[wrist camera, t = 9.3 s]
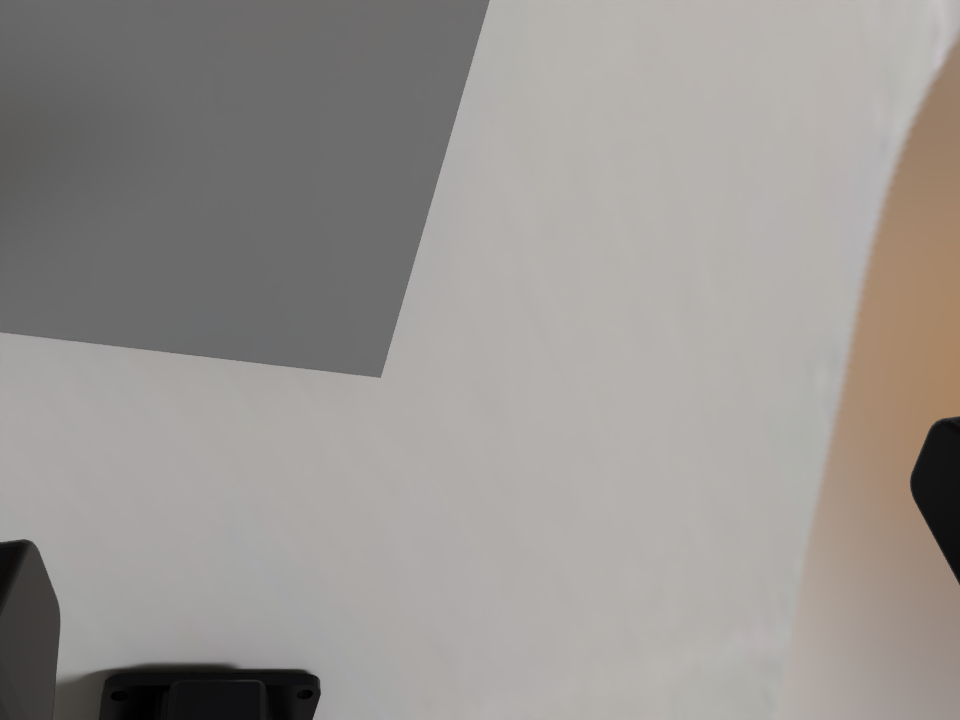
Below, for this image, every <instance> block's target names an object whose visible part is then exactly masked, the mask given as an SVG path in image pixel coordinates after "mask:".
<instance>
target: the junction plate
mask: <svg viewBox="0 0 960 720" xmlns="http://www.w3.org/2000/svg"><path fill="white" fill-rule="evenodd" d="M488 4H489V0H0V332H3V333H11V334H19V335H28V336H36V337H45V338H53V339H61V340H70V341H78V342H86V343H95V344H103V345H112V346H120V347H128V348H137V349H145V350H153V351H162V352H170V353H179V354H187V355H195V356H204V357H212V358H220V359H229V360H237V361H246V362H254V363H262V364H271V365H279V366H287V367H296V368H304V369H313V370H321V371H329V372H338V373H346V374H354V375H363V376H371V377H380V378H381V375H382V371H383V368H384V364H385V361H386V358H387V354H388V351H389V347H390V344H391V340H392V337H393V333H394V330H395V326H396V323H397V319H398V316H399V312H400V309H401V306H402V302H403V299H404V295H405V292H406V288H407V285H408V281H409V278H410V274H411V271H412V267H413V264H414V260H415V257H416V253H417V250H418V247H419V243H420V240H421V236H422V233H423V229H424V226H425V222H426V219H427V215H428V212H429V208H430V205H431V201H432V198H433V195H434V191H435V188H436V184H437V181H438V177H439V174H440V170H441V167H442V163H443V160H444V156H445V153H446V149H447V146H448V142H449V139H450V136H451V132H452V129H453V125H454V122H455V118H456V115H457V111H458V108H459V104H460V101H461V97H462V94H463V90H464V87H465V83H466V80H467V77H468V73H469V70H470V66H471V63H472V59H473V56H474V52H475V49H476V45H477V42H478V38H479V35H480V31H481V28H482V25H483V21H484V18H485V14H486V11H487V7H488Z"/></svg>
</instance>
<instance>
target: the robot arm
mask: <svg viewBox="0 0 960 720" xmlns="http://www.w3.org/2000/svg"><path fill="white" fill-rule="evenodd" d="M910 487H911V492H912V496H913V498H914V500H915V502H916V504H917V506H918V508H919V510H920V512H921V514H922V515H923V517H924V519H925V521H926V523H927V525H928V527H929V529H930V530H931V532H932V534H933V536H934V538H935V540H936V542H937V543H938V545H939V547H940V549H941V551H942V553H943V554H944V556H945V558H946V560H947V562H948V564H949V566H950V568H951V570H952V571H953V573H954V575H955V577H956V579H957V581H958V583H959V584H960V416H959V417H952V418H945V419H941V420H938V421H936V422H935V423H934V424H933V425H932V426H931V428H930V430H929V432H928V434H927V437H926V439H925V442H924V444H923V447H922V449H921V451H920V454H919V456H918V459H917V461H916V464H915V466H914V468H913V471H912V474H911V478H910ZM59 636H60V609H59V604H58V600H57V597H56V594H55V592H54V589H53V587H52V584H51V581H50V579H49V576H48V573H47V571H46V568H45V565H44V563H43V560H42V557H41V555H40V552H39V550H38V548H37V547H36V545H35V544H34V543H33V542H32V541H29V540H23V539H22V540H15V541H7V542H0V720H52V718H53V706H54V695H55V683H56V671H57V660H58V648H59ZM320 695H321V691H320V680H319V678H318V677H317V676H315V675H311V674H117V675H113V676H111V677H109V678H108V679H106V680H105V682H104V685H103V691H102V698H101V708H100V717H99V720H313V717H314V713H315V710H316V707H317V704H318V701H319V698H320Z"/></svg>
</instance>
